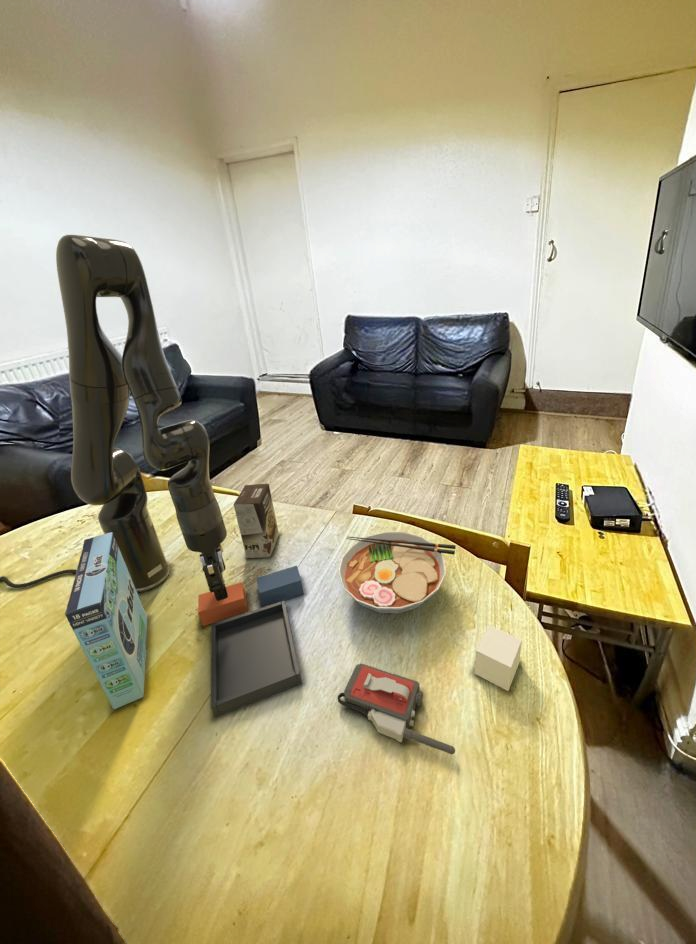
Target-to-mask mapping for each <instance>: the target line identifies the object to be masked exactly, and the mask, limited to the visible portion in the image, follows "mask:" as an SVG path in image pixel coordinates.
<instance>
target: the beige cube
mask: <svg viewBox="0 0 696 944" xmlns="http://www.w3.org/2000/svg"><path fill="white" fill-rule="evenodd" d="M522 642H523V639H521V638H519V637H517V636H515V635H512V634H510V633H508V632H506V631H503V630H501V629H499V628H496V627H495V626H492V625H490V624H488V625H487V627H486V630H485V632H484V634H483V635H482V637H481V640H480V642H479V643H478V645H477V647H476V649H475V660H474V661H475V662H474V675H476V676H478V677H480V678H482V679H484V680H486V681H488V682H489V683H492V684H493V685H495V686H497V687H498V688H501V689H503V690H505V691H507V692H510V691H509V690H510V688H511V686H512V683H513V681H514V678H515V676H516V673H517V670H518V667H519V666H520V665H519V664H520V659H521V654H522V653H521V652H522V644H523V643H522Z"/></svg>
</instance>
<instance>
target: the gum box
mask: <svg viewBox="0 0 696 944" xmlns="http://www.w3.org/2000/svg"><path fill="white" fill-rule="evenodd" d="M76 570H77V571H76V573H75V576H74V579H73V583H72V586H71V591H70V595H69V599H68V602H67V605H66V608H65V612H64V615H65V617H66V619H67V621H68V623H69V625H70V628H71V629H72V631H73V633H74V635H75V637H76V639H77V641H78V643H79V644H80V646H81V648H82V650H83V652H84V654H85V657H86V658H87V660H88V662H89V664H90V667H91V668H92V670H93V672H94V674H95V676H96V678H97V680H98V683H99V684H100V686H101V688H102V689H103V692H104V694H105V695H106V698H107V700H108V701H109V704H110V706H111V707H112V709H113V710H117V709H119V708H121V707H124V706H126V705H128V704H131V703H133V702H136V701H138V700H140V699H143V698H144V696H145V676H146V654H147V635H148V634H147V633H148V615H147V614H146V611H145V609H144V606H143V604H142V601H141V599H140V597H139V593H138V592H137V591H136V589H135V587H134V584H133V582H132V579H131V577H130V574H129V572H128V569H127V567H126V564H125V562H124V559H123V557H122V555H121V552H120V550H119V547H118V545H117V542H116V540H115V538H114V535H113V532H111V533H107V534H104V533H103V534H100V535H96V536H92V537H89V538H86V539H84V540H83V544H82V549H81V553H80V556H79V560H78V565H77V567H76Z"/></svg>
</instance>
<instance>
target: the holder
mask: <svg viewBox="0 0 696 944" xmlns="http://www.w3.org/2000/svg"><path fill="white" fill-rule="evenodd" d="M210 628H211V629H210V708H211V710H212V714H213V715H214V717H215V718H216V717H218V716H221V715H223V714H227V713H229V712H231V711H234V710H237V709H239V708H241V707H244V706H247V705H249V704H253V703H255V702H257V701H260V700H262V699H264V698H267V697H270V696H272V695H274V694H277V693H280V692H283V691H285V690H288V689H290V688H293V687H295V686H298V685H300V684H302V683H303V680H302V676H301V671H300V666H299V661H298V656H297V652H296V647H295V642H294V638H293V632H292V628H291V623H290V619H289V614H288V609H287V605H286V600H283V601H279V602H276V603H273V604H270V605H267V606H264V607H262V606H261V607H260V608H256V609H253V610H250V611H248V612H246V613H243V614H239V615H236V616H233V617H230V618H227V619H224V620H221V621H218V622H215V623H212V624H210Z"/></svg>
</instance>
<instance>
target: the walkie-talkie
mask: <svg viewBox="0 0 696 944" xmlns="http://www.w3.org/2000/svg"><path fill="white" fill-rule="evenodd" d="M423 695H424V693H423V691H421V689H420V683H419V681H417V680H414V679H411V678H408V677H405V676H402V675H399V674H396V673H392V672H389V671H386V670H383V669H380V668H377V667H374V666H371V665H368V664H365V663H363V662H361V663H357V664H356V665H355V666H354V669H353V671H352V673H351V676H350V678H349V679H348V682H347V684H346V686H345V688H344V691H343V692H340V693H339V694H338V695H337V702H338V703H339V704H340V705H342V706H344V707H347V708H349V709H352V710H355V711H357V712H360V713H362V714H364V716H366V717H367V720H369V721H371V722H372V724H373V726H374V727H375V729H376V731H377V733H379V734H381V735H383V736H387V737H389V738H392V739H395V740H396V741H397V742H398V743H403V740H404V739H407V740H408V741H411V740H412V741H415V742H417V743H419V744H423V745H425V746H427V747H430V748H432V749H436V750H439V751H442V752H444V753H446V754H449V755H455V753H456V748H455V747H454V746H453V745H450V744H448V743H445V742H442V741H440V740H437V739H434V738H432V737H429V736H427V735H424V734H421V733H418V732H416V731H414V730H413V729H411V727H414V724H415V720H413V718H415V716H416V711H415V710H416V706H418V707H420V706H421V704H422V702H423ZM342 697H343V698H344V700H342Z"/></svg>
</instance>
